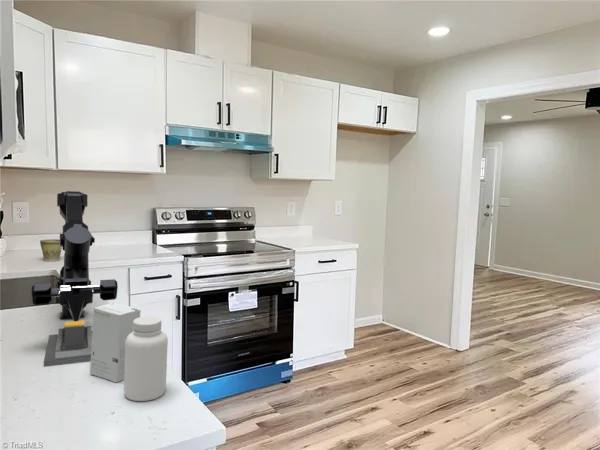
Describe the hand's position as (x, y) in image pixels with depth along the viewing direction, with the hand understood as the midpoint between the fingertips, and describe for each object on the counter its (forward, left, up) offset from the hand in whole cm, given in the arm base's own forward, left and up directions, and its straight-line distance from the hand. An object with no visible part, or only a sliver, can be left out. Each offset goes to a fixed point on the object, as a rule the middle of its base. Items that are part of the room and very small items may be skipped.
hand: (76, 321), depth 104 cm
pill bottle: (+25, +13, -8) cm, 29 cm away
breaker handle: (+2, 0, -7) cm, 7 cm away
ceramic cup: (-133, -11, -8) cm, 133 cm away
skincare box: (+14, +8, -8) cm, 18 cm away
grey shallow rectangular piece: (-4, 0, -8) cm, 9 cm away
